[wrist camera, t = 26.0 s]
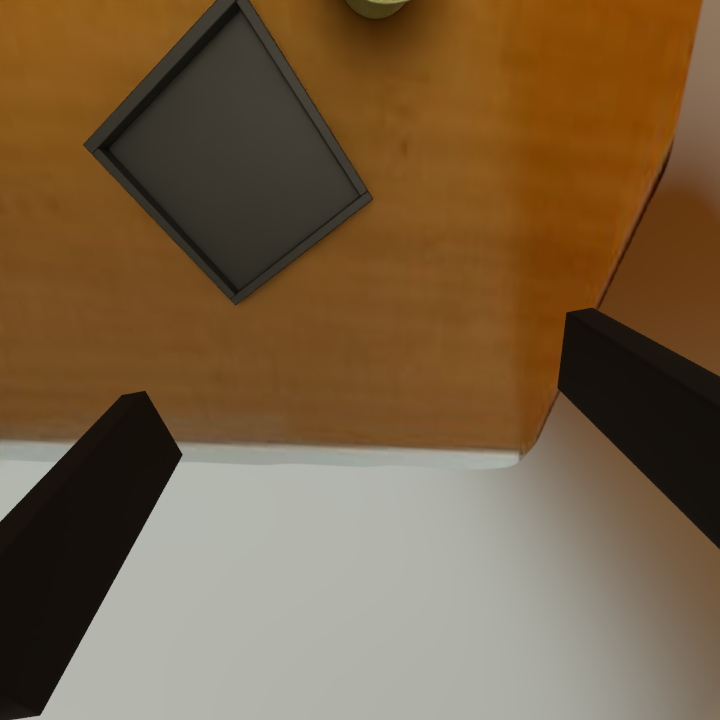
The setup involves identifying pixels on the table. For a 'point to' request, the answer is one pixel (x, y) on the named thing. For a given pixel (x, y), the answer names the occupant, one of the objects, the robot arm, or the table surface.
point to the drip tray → (230, 152)
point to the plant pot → (376, 7)
